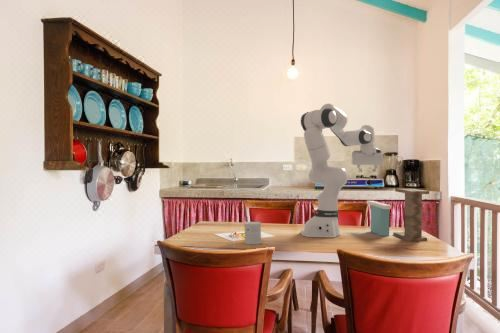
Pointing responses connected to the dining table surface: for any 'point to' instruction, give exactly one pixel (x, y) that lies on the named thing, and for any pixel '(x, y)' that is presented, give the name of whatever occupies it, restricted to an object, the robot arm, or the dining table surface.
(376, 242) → the dining table surface
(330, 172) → the robot arm
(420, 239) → the walnut stand
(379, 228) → the teal block
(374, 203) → the domino tile
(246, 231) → the small box
